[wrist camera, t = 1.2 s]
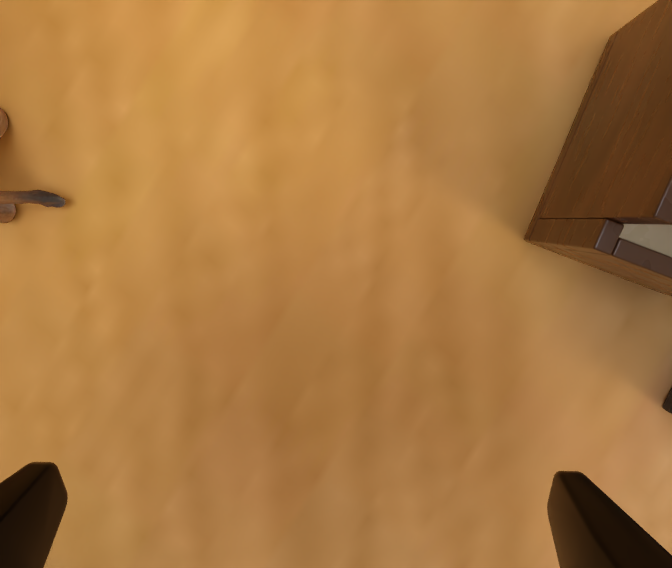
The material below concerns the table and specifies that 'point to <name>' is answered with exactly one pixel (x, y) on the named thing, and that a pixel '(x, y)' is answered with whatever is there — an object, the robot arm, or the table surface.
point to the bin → (668, 402)
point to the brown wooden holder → (617, 158)
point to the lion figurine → (3, 201)
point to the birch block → (650, 236)
